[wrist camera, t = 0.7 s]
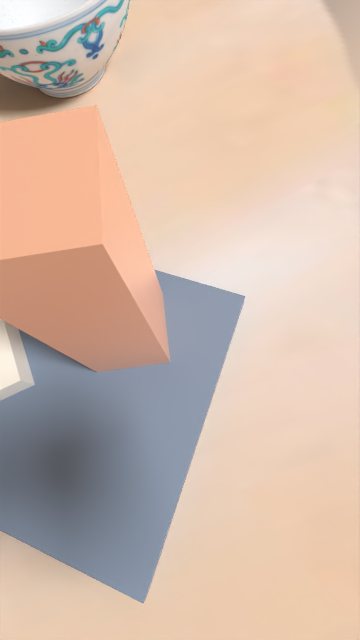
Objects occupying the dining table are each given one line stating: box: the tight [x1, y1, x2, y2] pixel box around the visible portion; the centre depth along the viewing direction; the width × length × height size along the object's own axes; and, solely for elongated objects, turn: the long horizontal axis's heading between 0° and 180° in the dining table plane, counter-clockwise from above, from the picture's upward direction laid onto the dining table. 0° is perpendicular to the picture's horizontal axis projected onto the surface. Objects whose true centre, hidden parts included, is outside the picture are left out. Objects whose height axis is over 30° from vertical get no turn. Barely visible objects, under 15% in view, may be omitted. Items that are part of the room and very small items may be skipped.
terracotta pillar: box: [0, 105, 170, 372], centre depth 15 cm, size 4×4×13 cm
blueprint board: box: [0, 270, 245, 603], centre depth 21 cm, size 17×22×1 cm
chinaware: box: [0, 0, 130, 98], centre depth 28 cm, size 15×15×8 cm
